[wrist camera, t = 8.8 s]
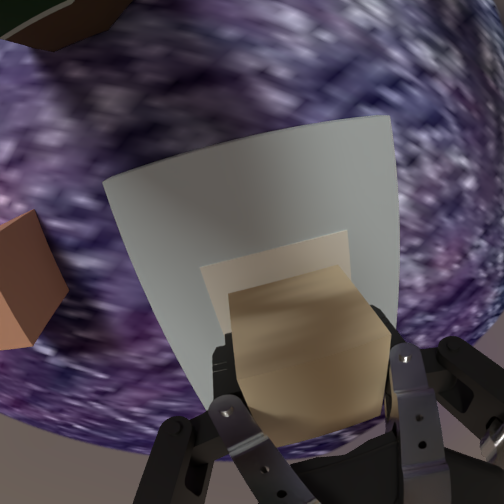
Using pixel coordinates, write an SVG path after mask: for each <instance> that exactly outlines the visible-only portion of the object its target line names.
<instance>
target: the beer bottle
mask: <svg viewBox="0 0 504 504" xmlns="http://www.w3.org/2000/svg"><path fill="white" fill-rule="evenodd" d="M132 1H133V0H0V39H3V40H7V41H11V42H14V43H18V44H22V45H25V46H29V47H32V48H36V49H41V50H46V51H51V52H55V51H57V50H59V49H61V48H64V47H66V46H68V45H70V44H73V43H75V42H78V41H80V40H83V39H85V38H88V37H90V36H93V35H95V34H98V33H101V32H104V31H107V30H109V29H110V27H111V26H112V25H113V24H114V22H115V21H116V20H117V19H118V17H119V16H120V15H121V14H122V13H123V11H124V10H125V9H126V8H127V7H128V5H129V4H130V3H131V2H132Z"/></svg>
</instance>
